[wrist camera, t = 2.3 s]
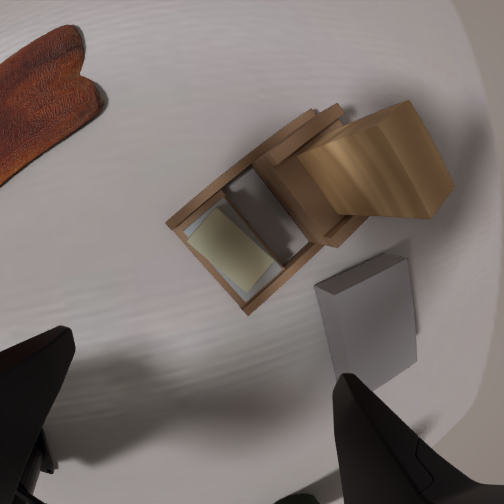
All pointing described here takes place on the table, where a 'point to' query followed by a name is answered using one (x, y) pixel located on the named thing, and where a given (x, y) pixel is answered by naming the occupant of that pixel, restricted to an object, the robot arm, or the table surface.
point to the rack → (242, 234)
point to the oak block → (380, 166)
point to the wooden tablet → (43, 97)
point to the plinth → (370, 319)
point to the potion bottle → (299, 500)
